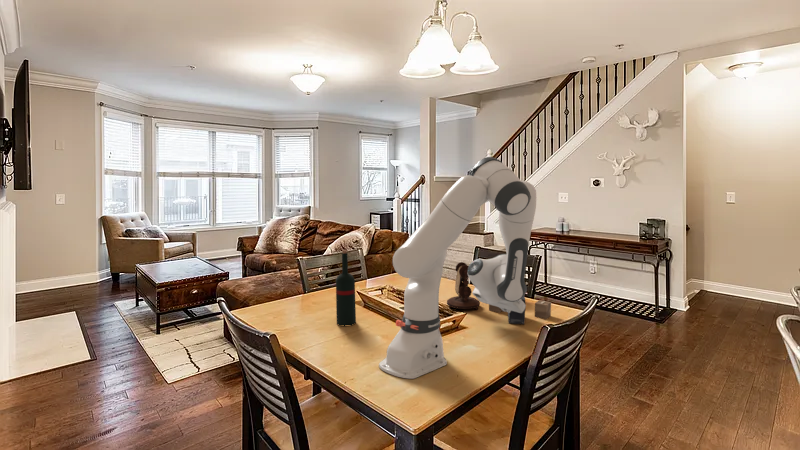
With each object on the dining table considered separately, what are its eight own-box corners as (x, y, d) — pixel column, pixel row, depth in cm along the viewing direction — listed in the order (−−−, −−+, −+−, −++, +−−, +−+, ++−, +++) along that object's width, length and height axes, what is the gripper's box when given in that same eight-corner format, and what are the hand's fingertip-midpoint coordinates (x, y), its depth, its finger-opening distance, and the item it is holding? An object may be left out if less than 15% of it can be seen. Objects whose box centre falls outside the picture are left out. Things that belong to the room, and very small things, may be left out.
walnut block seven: (499, 312, 180) (499, 298, 179) (488, 310, 183) (489, 296, 182) (504, 309, 184) (504, 296, 183) (493, 307, 187) (494, 294, 186)
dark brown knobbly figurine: (443, 302, 195) (444, 261, 192) (474, 301, 196) (475, 260, 194) (450, 312, 180) (451, 267, 178) (483, 311, 181) (484, 266, 179)
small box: (525, 324, 165) (526, 299, 163) (508, 323, 166) (509, 298, 165) (523, 316, 175) (524, 292, 174) (507, 315, 176) (508, 291, 175)
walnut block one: (546, 319, 171) (546, 304, 170) (534, 316, 174) (535, 302, 174) (550, 316, 175) (551, 301, 174) (538, 313, 178) (539, 299, 177)
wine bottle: (358, 317, 175) (356, 247, 171) (354, 326, 164) (353, 251, 161) (339, 317, 175) (337, 247, 171) (334, 326, 165) (332, 251, 161)
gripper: (520, 289, 151) (534, 310, 159) (476, 279, 167) (490, 298, 174) (512, 304, 149) (527, 324, 156) (468, 292, 165) (483, 311, 172)
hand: (507, 310), depth 165 cm, fingers closed
